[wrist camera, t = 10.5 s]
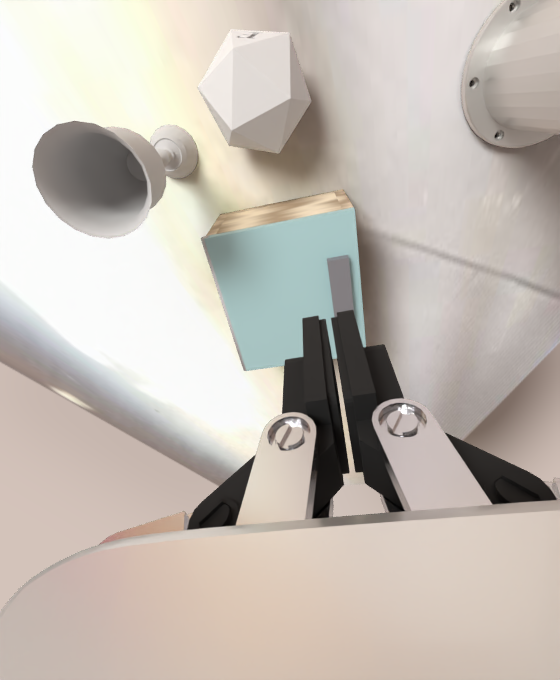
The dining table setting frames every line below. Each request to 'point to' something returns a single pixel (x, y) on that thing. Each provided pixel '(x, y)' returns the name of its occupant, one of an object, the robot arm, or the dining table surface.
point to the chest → (281, 211)
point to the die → (256, 89)
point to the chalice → (108, 173)
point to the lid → (286, 282)
